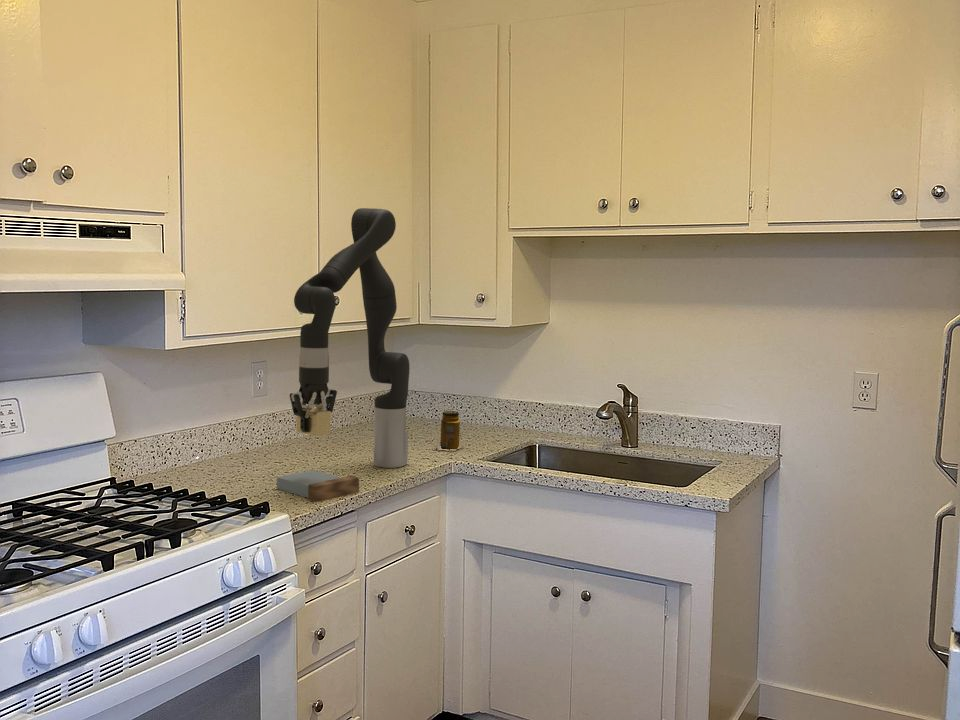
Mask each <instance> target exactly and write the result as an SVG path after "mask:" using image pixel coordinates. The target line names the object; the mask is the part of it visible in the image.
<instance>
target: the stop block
mask: <svg viewBox="0 0 960 720" xmlns="http://www.w3.org/2000/svg"><path fill="white" fill-rule="evenodd" d="M357 493H360V477H358V476H354V475H347V476H343V477H342V478H337V479H333V480H328V481H323V482H318V483H313V484H309V485H308V498H307V499H308V501H311V502H314V503H318V502H322V501H326V500H331V499H336V498H340V497H345V496H349V495H353V494H357Z"/></svg>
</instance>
